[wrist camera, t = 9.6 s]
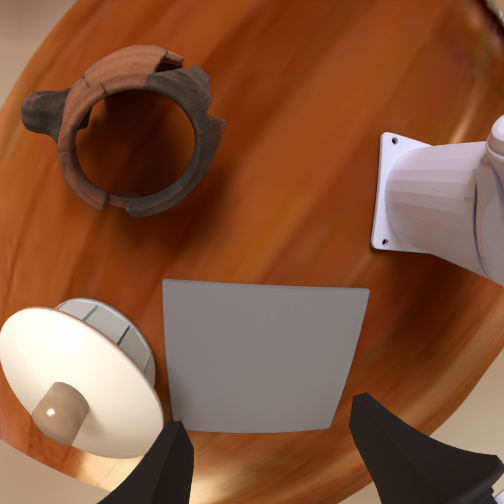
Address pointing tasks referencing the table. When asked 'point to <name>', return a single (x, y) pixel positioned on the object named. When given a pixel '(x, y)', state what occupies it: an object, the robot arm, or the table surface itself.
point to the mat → (258, 354)
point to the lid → (79, 384)
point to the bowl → (114, 330)
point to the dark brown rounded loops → (116, 80)
